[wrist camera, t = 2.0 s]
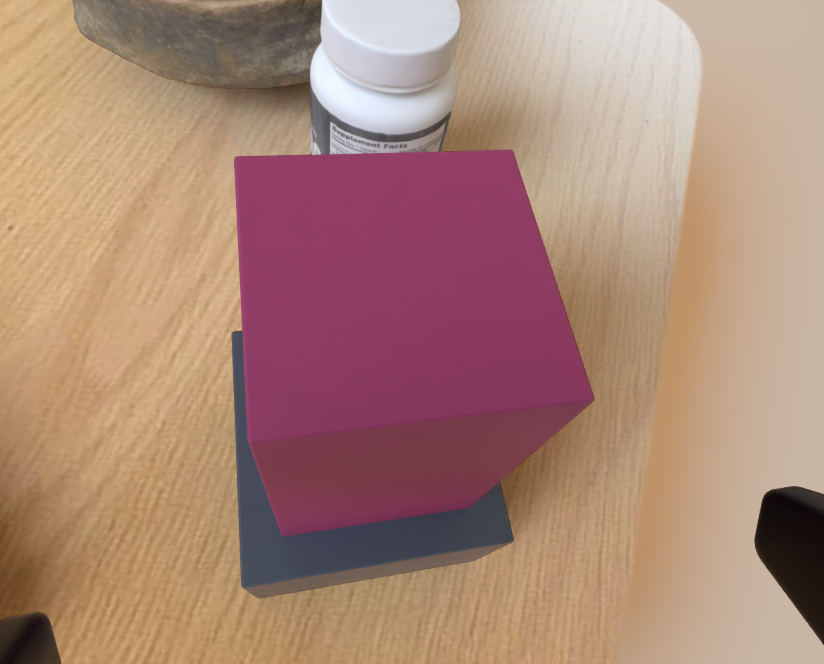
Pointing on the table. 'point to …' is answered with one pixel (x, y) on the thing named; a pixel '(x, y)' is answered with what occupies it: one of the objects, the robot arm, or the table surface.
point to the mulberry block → (396, 332)
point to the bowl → (209, 38)
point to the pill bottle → (383, 76)
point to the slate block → (348, 531)
